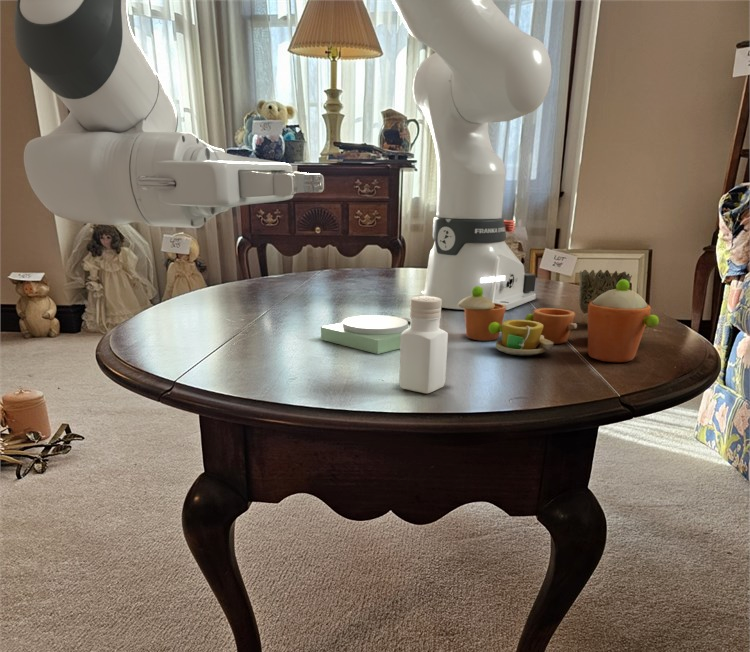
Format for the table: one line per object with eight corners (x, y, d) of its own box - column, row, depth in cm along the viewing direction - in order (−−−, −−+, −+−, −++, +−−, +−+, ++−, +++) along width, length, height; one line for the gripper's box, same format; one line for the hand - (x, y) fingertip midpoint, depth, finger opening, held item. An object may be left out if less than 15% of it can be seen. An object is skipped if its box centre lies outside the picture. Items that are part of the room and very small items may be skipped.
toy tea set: (640, 339, 94) (654, 268, 89) (663, 368, 80) (681, 286, 76) (458, 330, 98) (462, 262, 93) (450, 356, 84) (456, 277, 80)
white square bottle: (396, 389, 71) (399, 299, 67) (416, 380, 74) (419, 294, 70) (428, 396, 69) (433, 303, 65) (446, 387, 72) (452, 298, 68)
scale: (380, 327, 99) (380, 309, 98) (436, 339, 92) (437, 320, 91) (320, 339, 91) (320, 320, 90) (377, 354, 84) (377, 334, 83)
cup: (625, 333, 97) (635, 277, 94) (573, 330, 98) (582, 274, 95) (618, 323, 104) (628, 270, 100) (570, 320, 105) (578, 268, 101)
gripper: (119, 142, 56) (271, 143, 54) (217, 149, 74) (334, 150, 72) (130, 221, 59) (275, 226, 57) (222, 209, 77) (335, 213, 75)
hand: (309, 184), depth 65 cm, fingers open, 8 cm apart
